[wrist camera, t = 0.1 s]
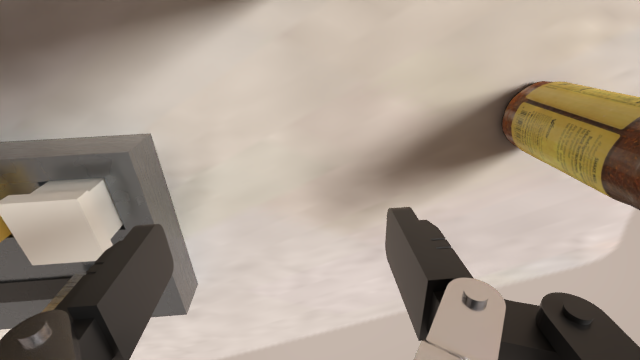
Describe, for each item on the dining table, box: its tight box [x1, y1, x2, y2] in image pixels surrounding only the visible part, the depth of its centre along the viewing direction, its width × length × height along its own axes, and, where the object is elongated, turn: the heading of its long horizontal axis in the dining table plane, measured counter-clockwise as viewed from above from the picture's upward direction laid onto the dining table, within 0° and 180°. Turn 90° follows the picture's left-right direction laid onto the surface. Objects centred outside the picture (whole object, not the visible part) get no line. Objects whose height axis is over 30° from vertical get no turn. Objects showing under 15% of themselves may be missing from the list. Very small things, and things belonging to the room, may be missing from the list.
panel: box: [0, 134, 198, 329], centre depth 28 cm, size 18×28×4 cm, turn 92°
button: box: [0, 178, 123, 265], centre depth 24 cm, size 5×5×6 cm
